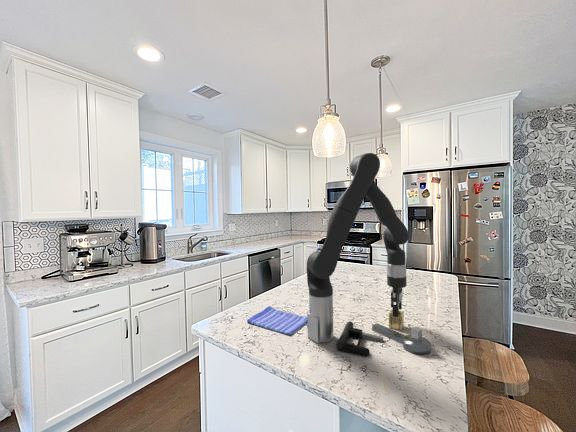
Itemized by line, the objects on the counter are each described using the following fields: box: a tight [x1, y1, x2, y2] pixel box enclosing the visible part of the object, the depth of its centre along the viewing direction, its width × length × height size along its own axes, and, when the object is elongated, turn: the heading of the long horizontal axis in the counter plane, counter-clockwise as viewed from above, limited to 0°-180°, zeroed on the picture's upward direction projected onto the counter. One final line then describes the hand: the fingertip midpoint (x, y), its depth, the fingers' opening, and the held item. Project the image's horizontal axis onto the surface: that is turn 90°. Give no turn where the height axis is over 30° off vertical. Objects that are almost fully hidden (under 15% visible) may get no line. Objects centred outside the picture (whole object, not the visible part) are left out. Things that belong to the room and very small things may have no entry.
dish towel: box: [246, 305, 307, 336], centre depth 119 cm, size 17×24×3 cm
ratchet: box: [371, 323, 432, 356], centre depth 100 cm, size 9×22×7 cm, turn 34°
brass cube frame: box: [388, 309, 405, 331], centre depth 111 cm, size 5×5×6 cm
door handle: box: [335, 320, 384, 358], centre depth 100 cm, size 3×20×16 cm
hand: (397, 312), depth 111 cm, fingers open, 8 cm apart
